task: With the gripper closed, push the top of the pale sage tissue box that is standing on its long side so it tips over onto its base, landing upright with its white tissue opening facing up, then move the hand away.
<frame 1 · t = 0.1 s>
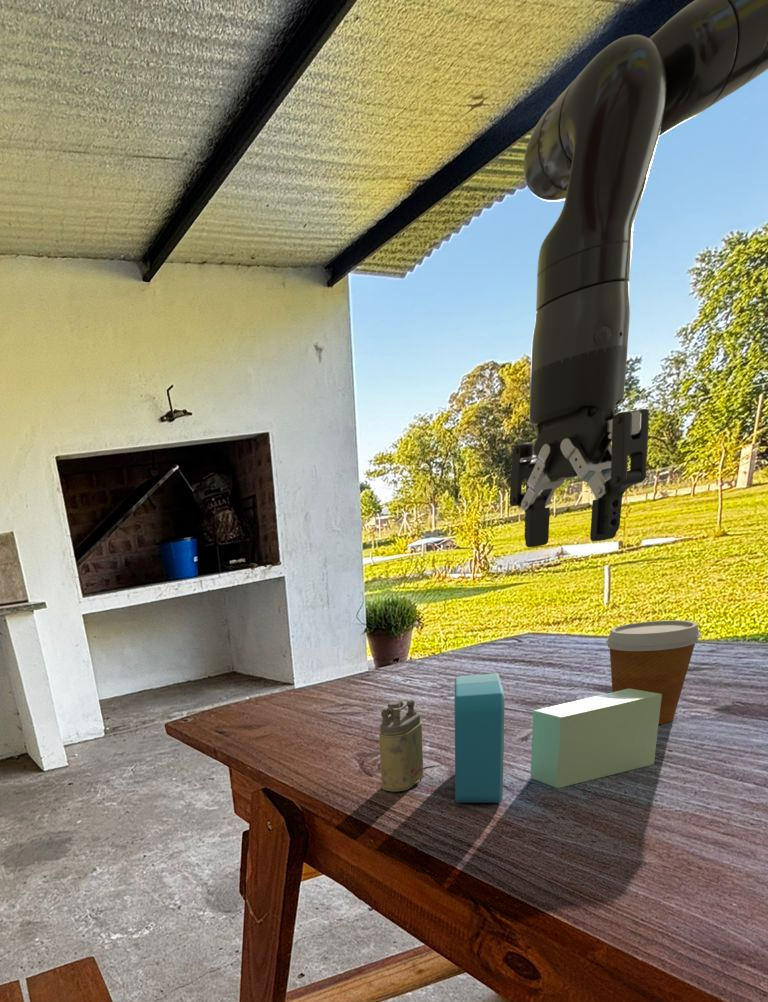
hand: (567, 543, 63), 25 cm above the table, tool pointing down, fingers open, 8 cm apart
data package: (477, 788, 70), on the table
lighter: (404, 783, 75), on the table
disposable coffee cup: (643, 720, 81), on the table
tissue box: (591, 771, 69), on the table
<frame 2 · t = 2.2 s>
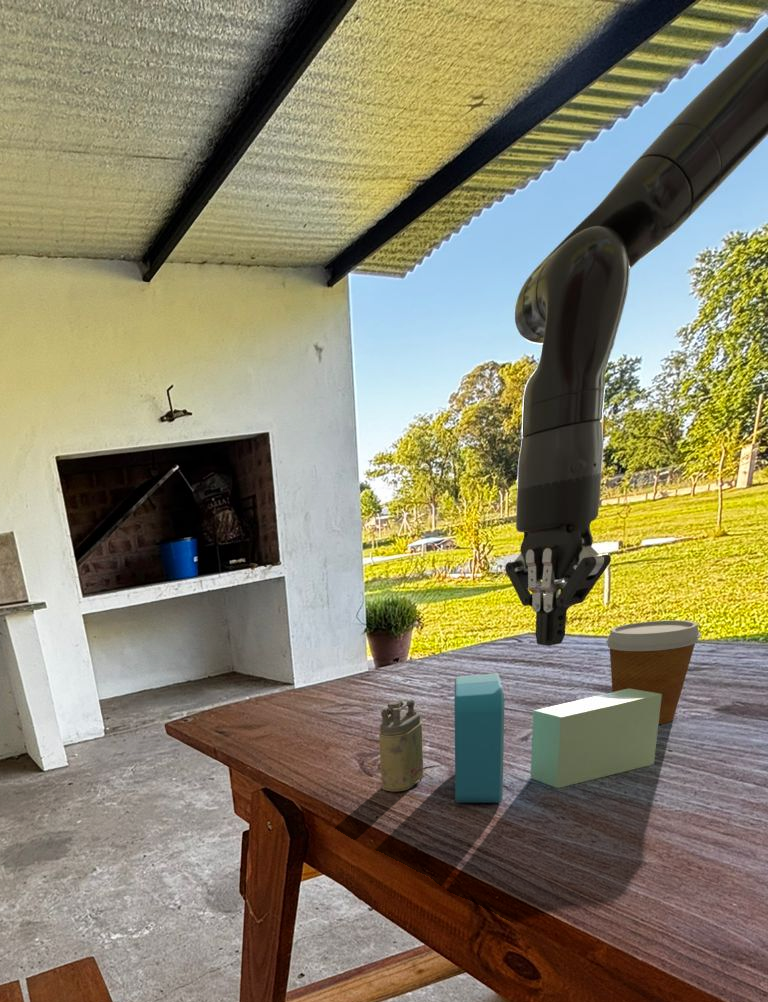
hand: (549, 644, 71), 14 cm above the table, tool pointing down, fingers closed
nothing on the table moved.
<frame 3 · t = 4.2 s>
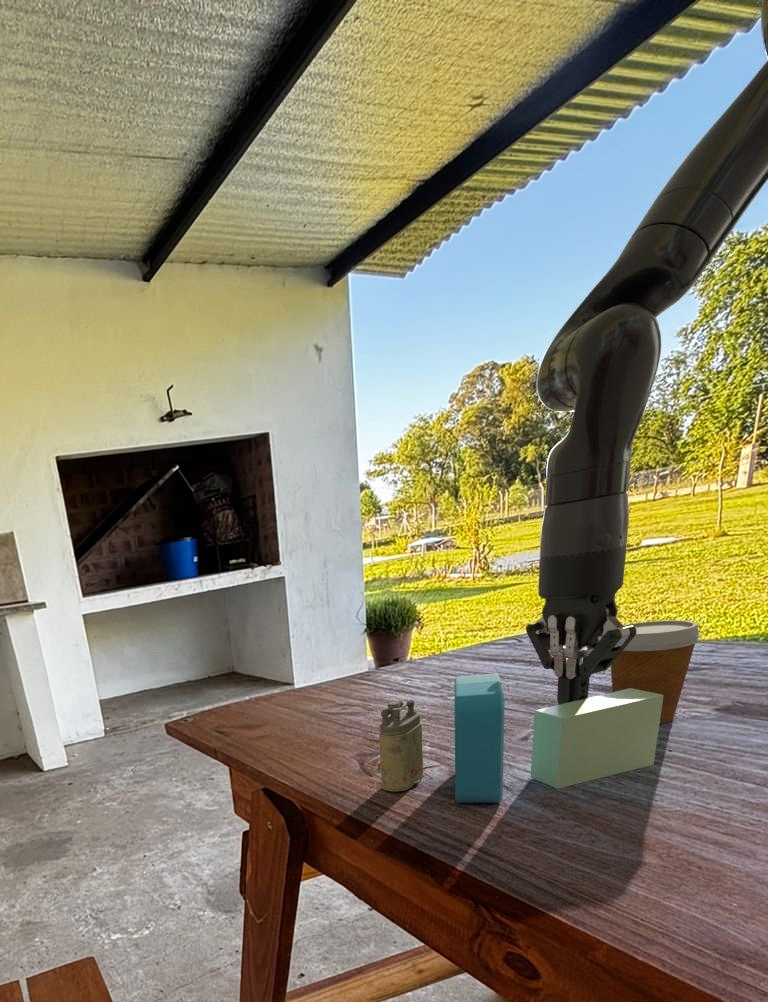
hand: (571, 708, 70), 7 cm above the table, tool pointing down, fingers closed
tissue box: (591, 771, 69), on the table, touching gripper
everything else where it was.
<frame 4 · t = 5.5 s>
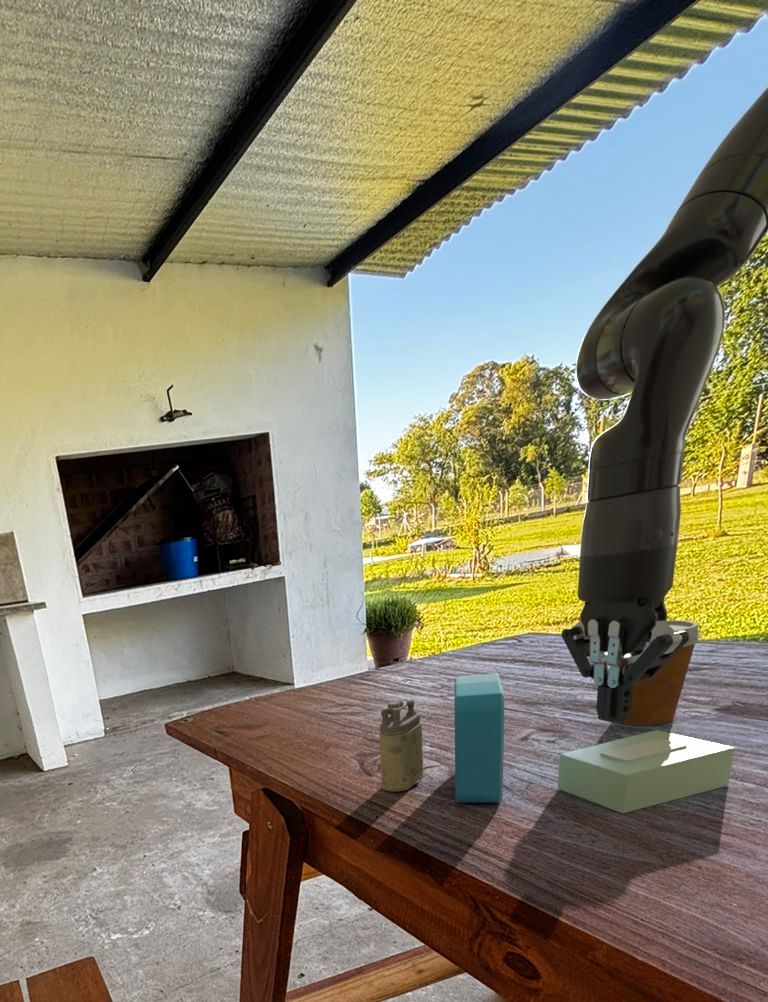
hand: (612, 719, 65), 7 cm above the table, tool pointing down, fingers closed
tissue box: (607, 759, 66), point 2 cm above the table, tilted 90°
everything else where it was.
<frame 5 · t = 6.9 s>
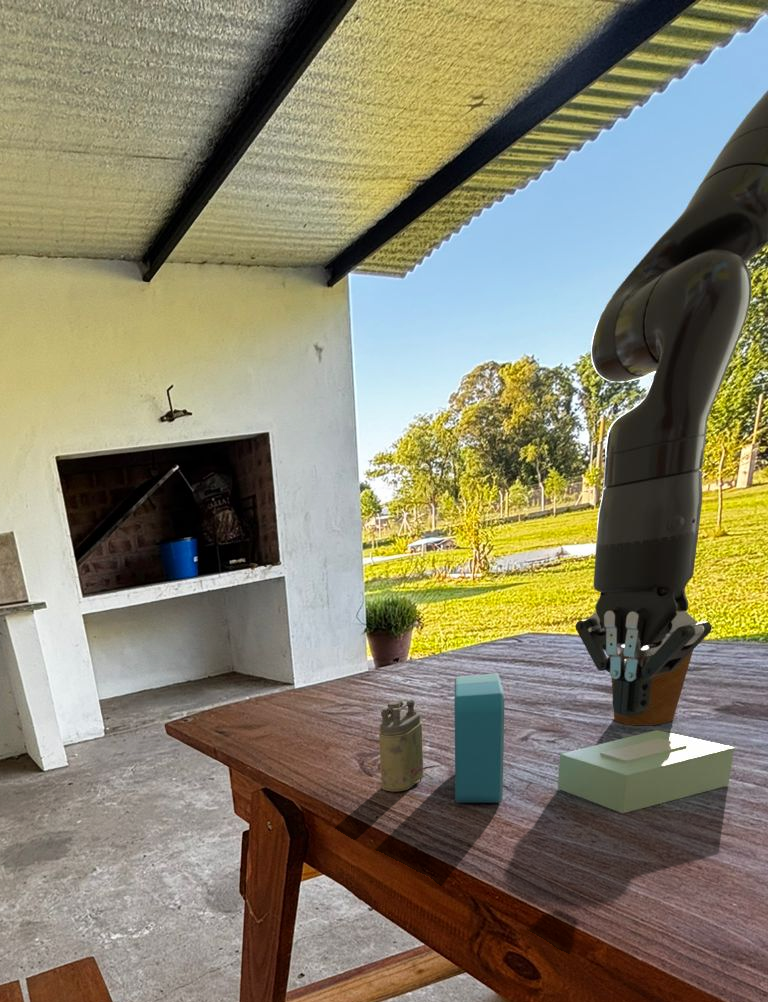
hand: (629, 714, 63), 7 cm above the table, tool pointing down, fingers closed
nothing on the table moved.
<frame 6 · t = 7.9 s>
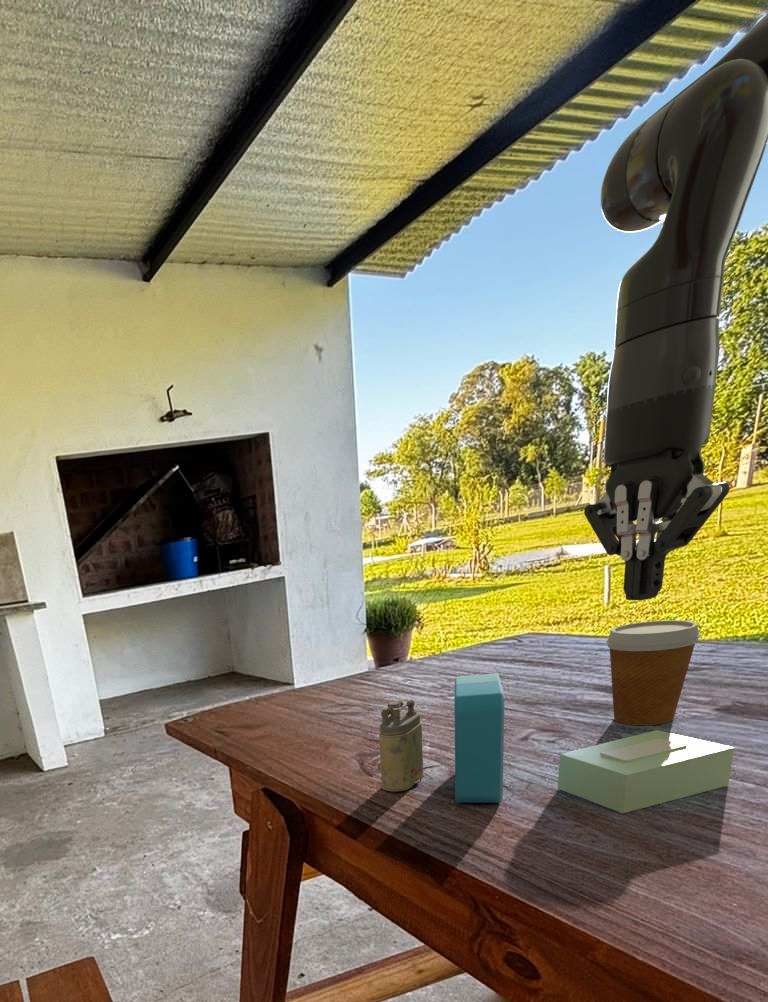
hand: (641, 598, 60), 19 cm above the table, tool pointing down, fingers closed
nothing on the table moved.
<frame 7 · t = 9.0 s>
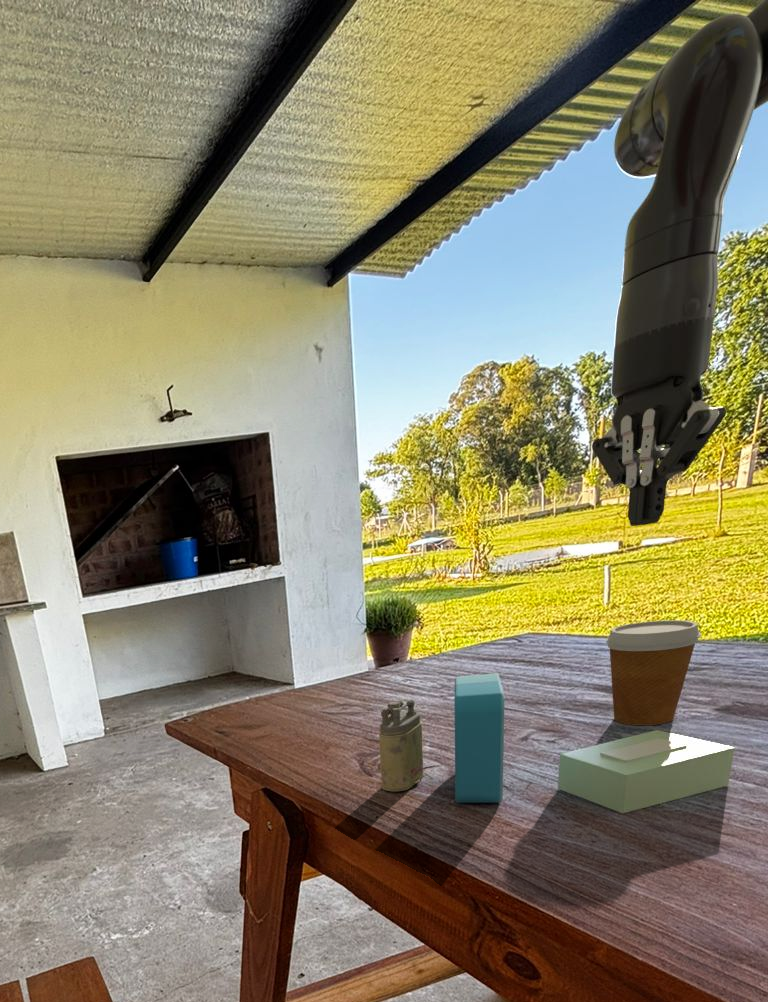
hand: (644, 524, 65), 25 cm above the table, tool pointing down, fingers closed
nothing on the table moved.
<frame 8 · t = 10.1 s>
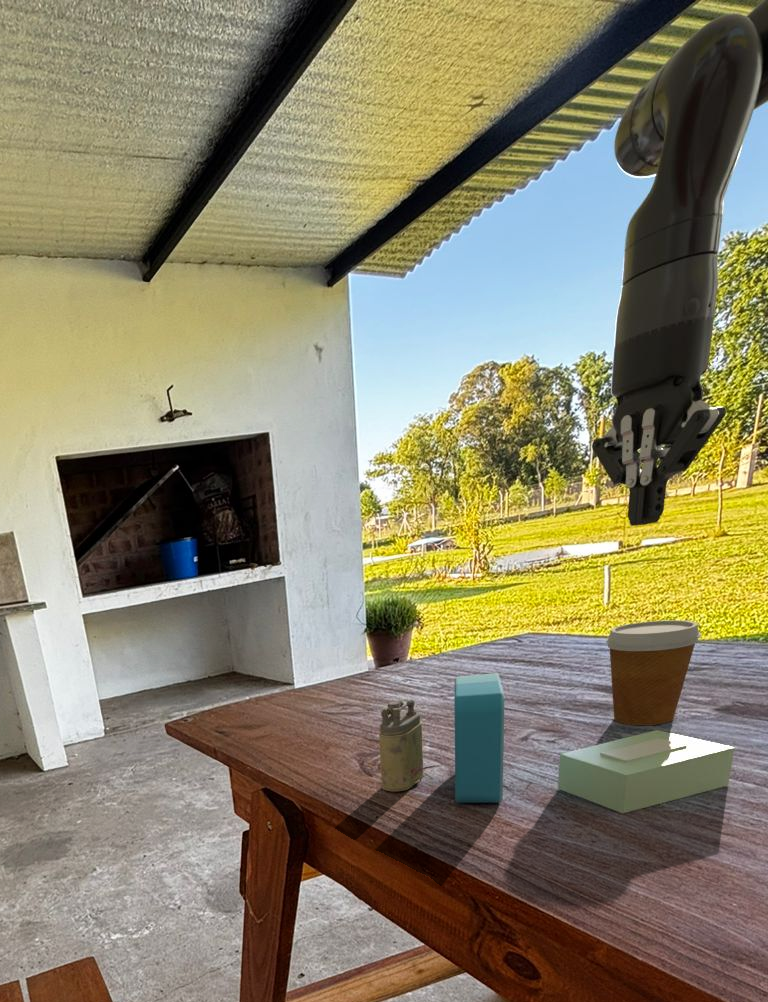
hand: (644, 523, 65), 25 cm above the table, tool pointing down, fingers closed
nothing on the table moved.
at the end: tissue box tilted 90°; tissue box 0.5 cm from the target spot, point 2.0 cm above the table; the gripper is holding nothing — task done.
